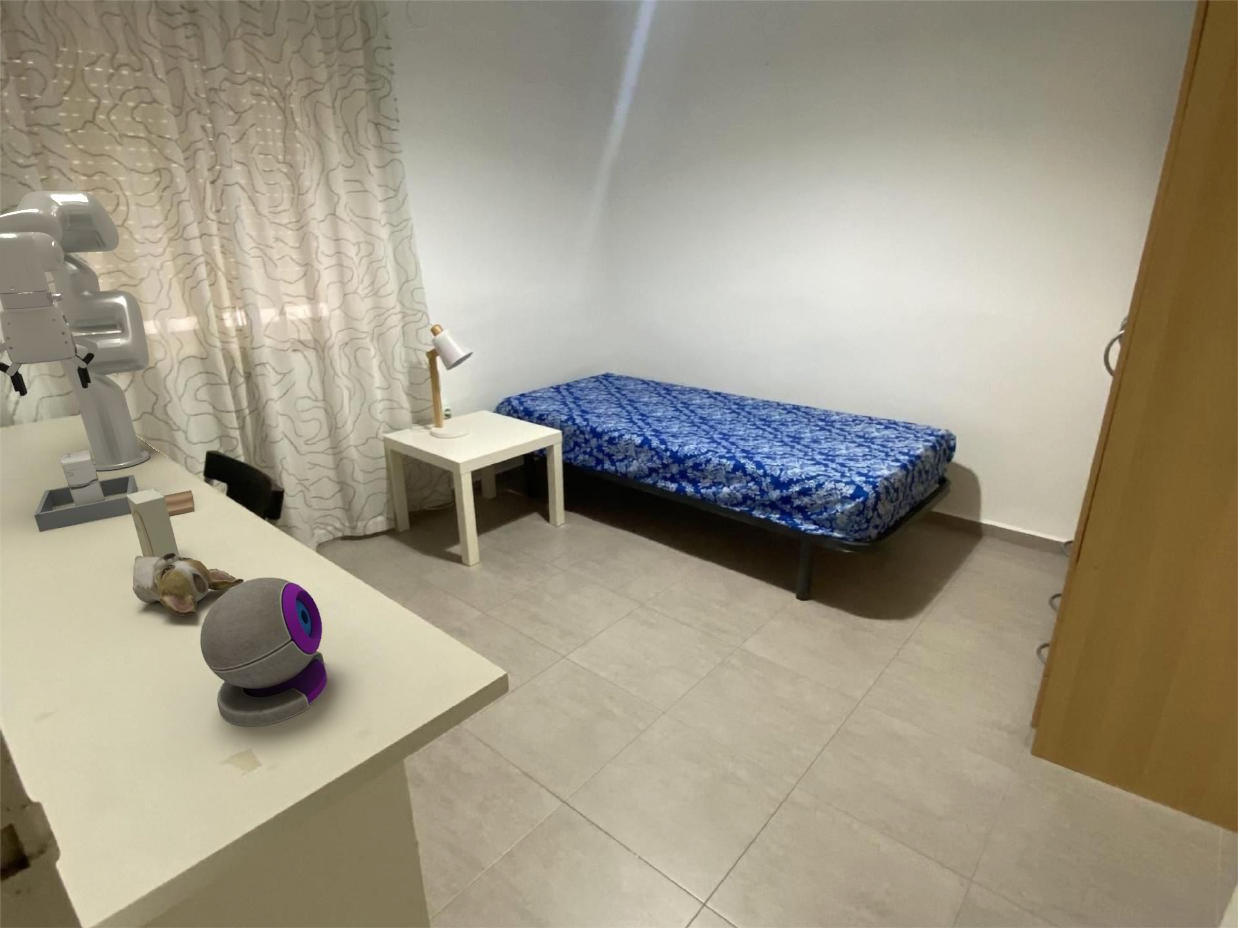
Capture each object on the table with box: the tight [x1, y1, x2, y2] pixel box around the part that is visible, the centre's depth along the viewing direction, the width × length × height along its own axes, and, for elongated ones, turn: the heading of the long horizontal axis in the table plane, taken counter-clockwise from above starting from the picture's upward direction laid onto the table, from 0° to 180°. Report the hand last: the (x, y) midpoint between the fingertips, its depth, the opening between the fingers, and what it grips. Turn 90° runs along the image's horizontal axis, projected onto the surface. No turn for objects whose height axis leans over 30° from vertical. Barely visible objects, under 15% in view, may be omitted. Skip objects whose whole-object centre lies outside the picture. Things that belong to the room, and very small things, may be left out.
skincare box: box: [125, 487, 180, 558], centre depth 118 cm, size 6×4×12 cm
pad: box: [163, 489, 195, 517], centre depth 142 cm, size 11×9×1 cm
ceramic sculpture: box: [132, 553, 245, 617], centre depth 104 cm, size 11×9×15 cm
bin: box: [33, 474, 139, 532], centre depth 142 cm, size 16×16×4 cm
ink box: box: [60, 449, 106, 506], centre depth 140 cm, size 9×5×12 cm, turn 39°
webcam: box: [200, 577, 328, 727], centre depth 82 cm, size 13×13×15 cm
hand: (55, 391), depth 134 cm, fingers open, 9 cm apart
